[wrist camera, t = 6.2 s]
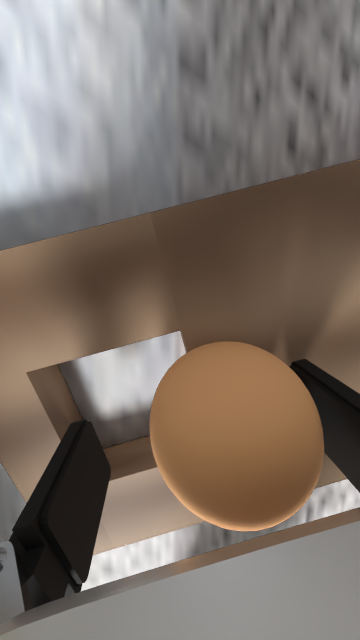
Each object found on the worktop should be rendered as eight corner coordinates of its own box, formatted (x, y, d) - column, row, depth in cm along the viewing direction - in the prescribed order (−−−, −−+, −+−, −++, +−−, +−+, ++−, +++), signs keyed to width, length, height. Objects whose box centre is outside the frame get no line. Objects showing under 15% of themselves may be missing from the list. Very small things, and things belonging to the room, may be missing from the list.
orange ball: (138, 499, 9) (200, 394, 13) (302, 619, 6) (313, 432, 10) (86, 400, 6) (187, 307, 10) (354, 535, 3) (339, 324, 7)
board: (457, 406, 17) (507, 430, 14) (78, 517, 16) (64, 563, 13) (491, 136, 12) (577, 103, 9) (-54, 276, 11) (-114, 279, 8)
